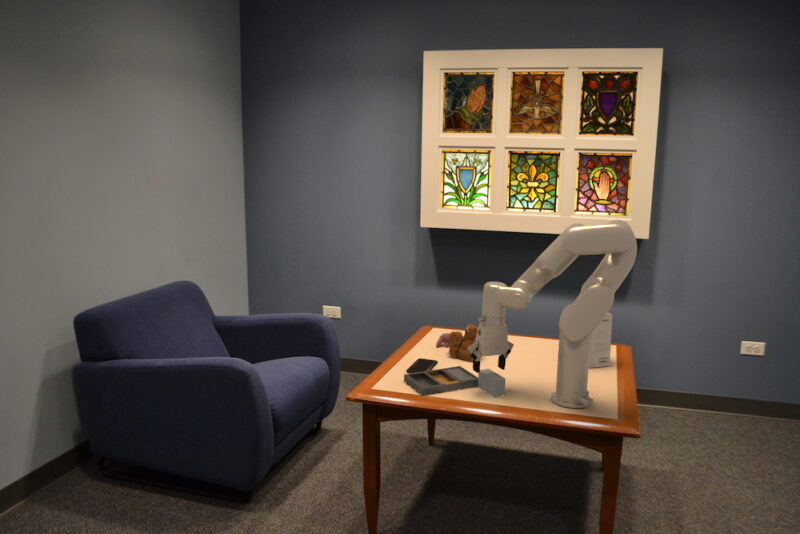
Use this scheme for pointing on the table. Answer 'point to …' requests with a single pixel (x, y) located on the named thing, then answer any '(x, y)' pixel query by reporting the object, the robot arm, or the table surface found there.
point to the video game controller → (443, 340)
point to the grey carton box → (601, 343)
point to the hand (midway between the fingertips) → (488, 369)
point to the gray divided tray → (441, 380)
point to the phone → (422, 365)
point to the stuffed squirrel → (462, 343)
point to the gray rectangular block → (491, 382)
